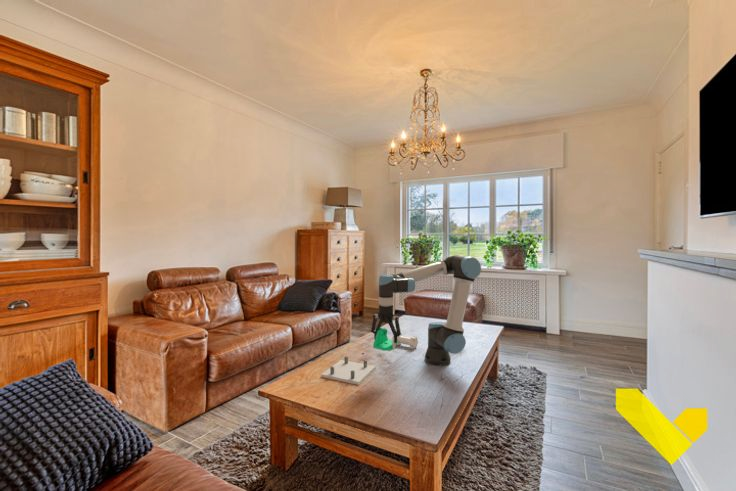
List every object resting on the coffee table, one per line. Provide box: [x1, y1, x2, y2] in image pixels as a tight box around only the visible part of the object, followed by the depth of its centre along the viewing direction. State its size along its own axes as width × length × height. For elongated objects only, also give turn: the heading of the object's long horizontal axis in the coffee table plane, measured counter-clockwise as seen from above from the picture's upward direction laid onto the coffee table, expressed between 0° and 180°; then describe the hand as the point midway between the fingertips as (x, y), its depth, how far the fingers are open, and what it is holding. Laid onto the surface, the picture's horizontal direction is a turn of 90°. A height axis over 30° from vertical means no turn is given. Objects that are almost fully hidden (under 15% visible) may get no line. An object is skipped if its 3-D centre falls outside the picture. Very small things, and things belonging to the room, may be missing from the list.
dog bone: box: [396, 333, 419, 350], centre depth 228 cm, size 15×9×8 cm, turn 56°
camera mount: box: [372, 327, 397, 352], centre depth 178 cm, size 12×8×10 cm, turn 144°
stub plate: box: [320, 355, 377, 386], centre depth 184 cm, size 22×22×5 cm
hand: (385, 347), depth 178 cm, fingers closed on camera mount, 8 cm apart
